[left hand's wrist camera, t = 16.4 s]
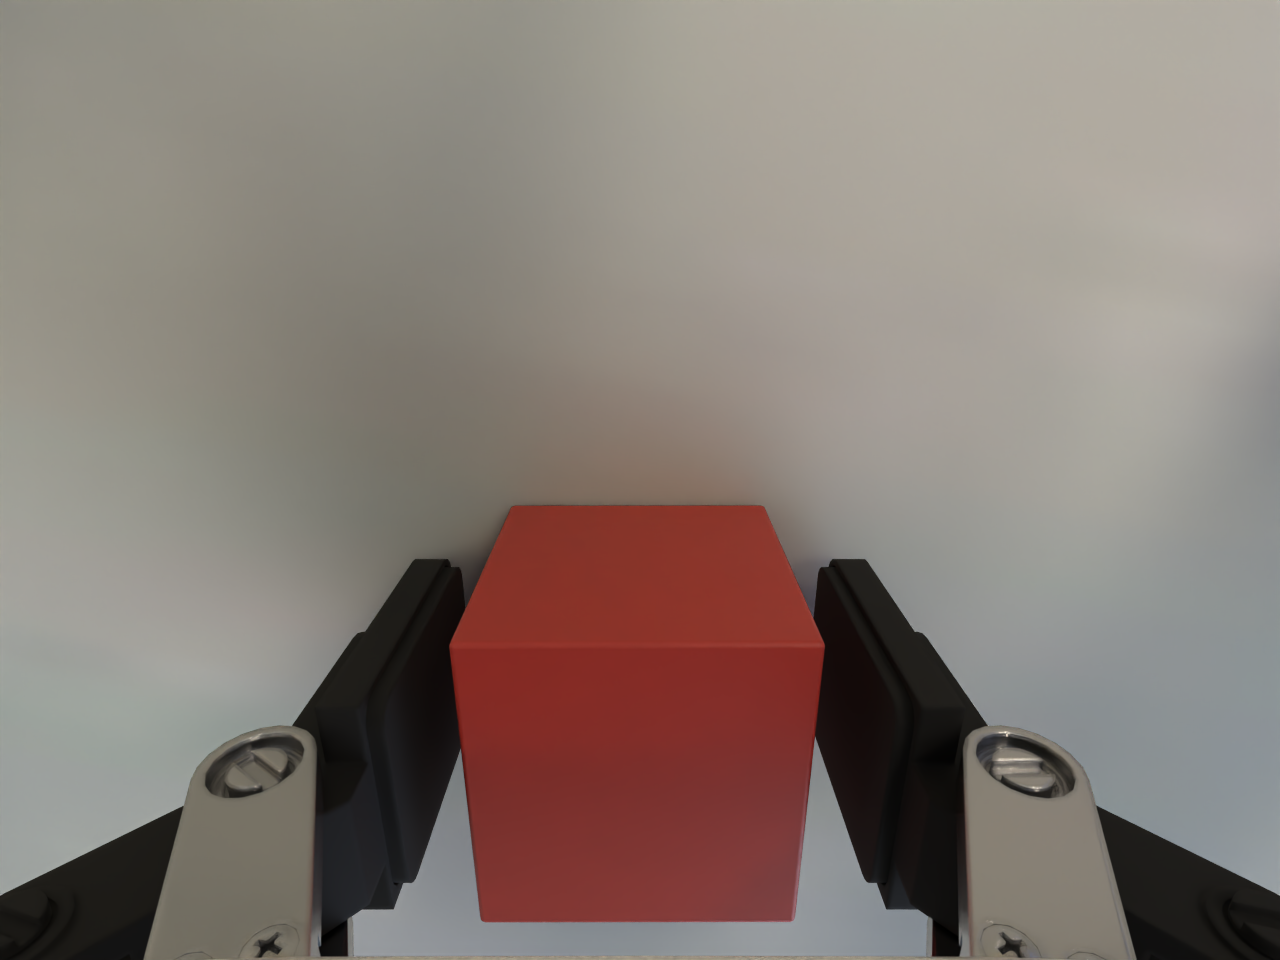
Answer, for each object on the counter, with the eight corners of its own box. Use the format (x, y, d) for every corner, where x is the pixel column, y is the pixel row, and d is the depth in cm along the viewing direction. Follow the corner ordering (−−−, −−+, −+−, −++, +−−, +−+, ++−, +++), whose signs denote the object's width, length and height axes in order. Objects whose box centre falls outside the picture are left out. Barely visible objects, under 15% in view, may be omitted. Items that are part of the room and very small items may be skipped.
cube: (526, 719, 13) (479, 925, 9) (510, 504, 12) (446, 644, 8) (750, 719, 13) (795, 925, 9) (764, 503, 12) (827, 643, 8)
